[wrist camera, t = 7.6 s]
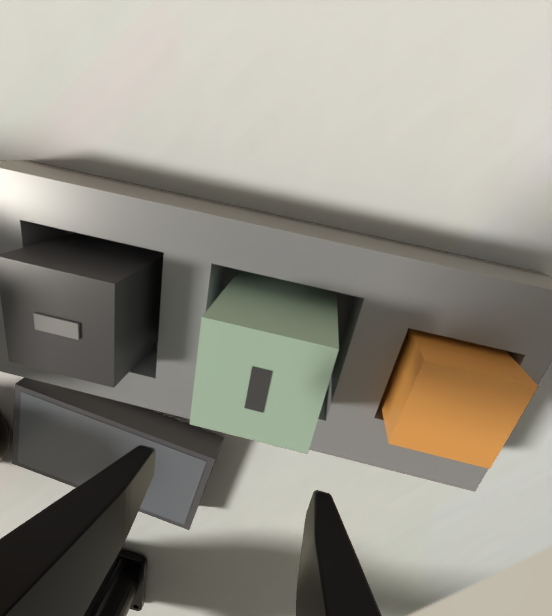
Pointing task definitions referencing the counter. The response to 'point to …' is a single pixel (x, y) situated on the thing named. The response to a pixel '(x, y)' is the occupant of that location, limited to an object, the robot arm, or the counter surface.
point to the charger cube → (265, 360)
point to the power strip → (209, 285)
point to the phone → (111, 445)
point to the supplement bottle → (4, 438)
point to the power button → (454, 398)
